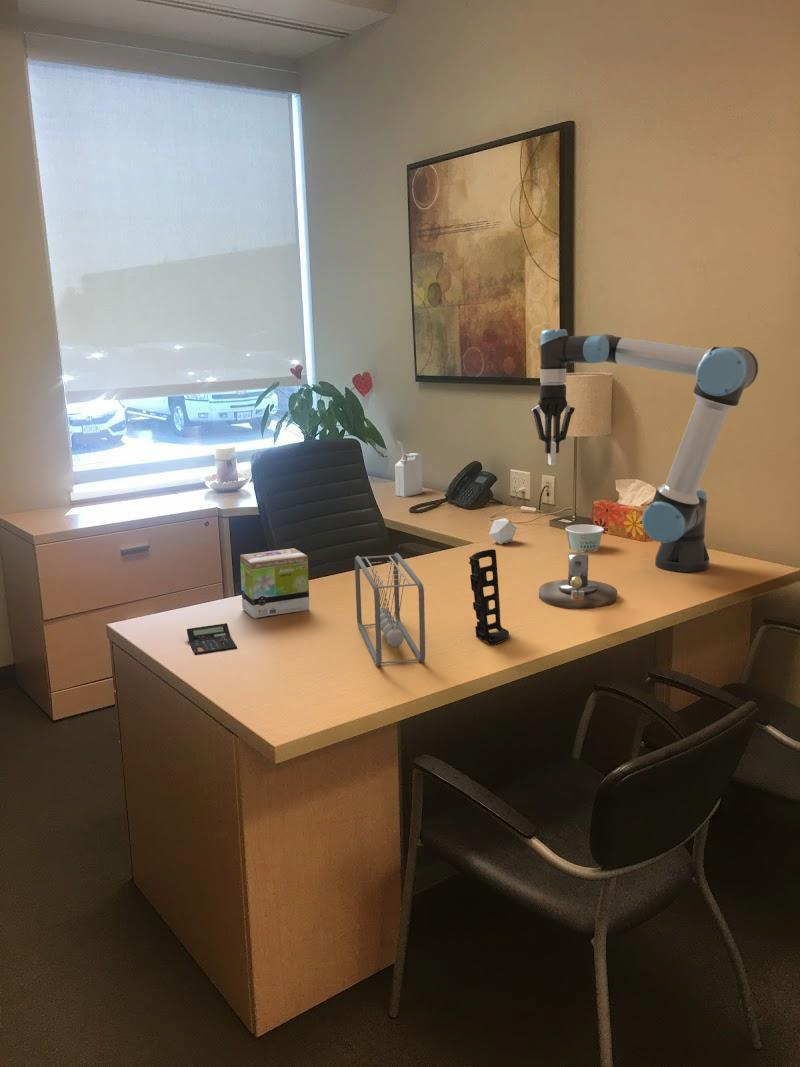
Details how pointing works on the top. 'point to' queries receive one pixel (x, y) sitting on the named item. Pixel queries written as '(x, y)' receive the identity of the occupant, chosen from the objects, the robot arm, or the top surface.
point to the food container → (584, 537)
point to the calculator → (210, 639)
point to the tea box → (274, 582)
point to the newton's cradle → (383, 615)
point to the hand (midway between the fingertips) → (551, 464)
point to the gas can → (408, 474)
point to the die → (502, 531)
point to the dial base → (578, 596)
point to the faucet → (578, 575)
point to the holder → (486, 598)
